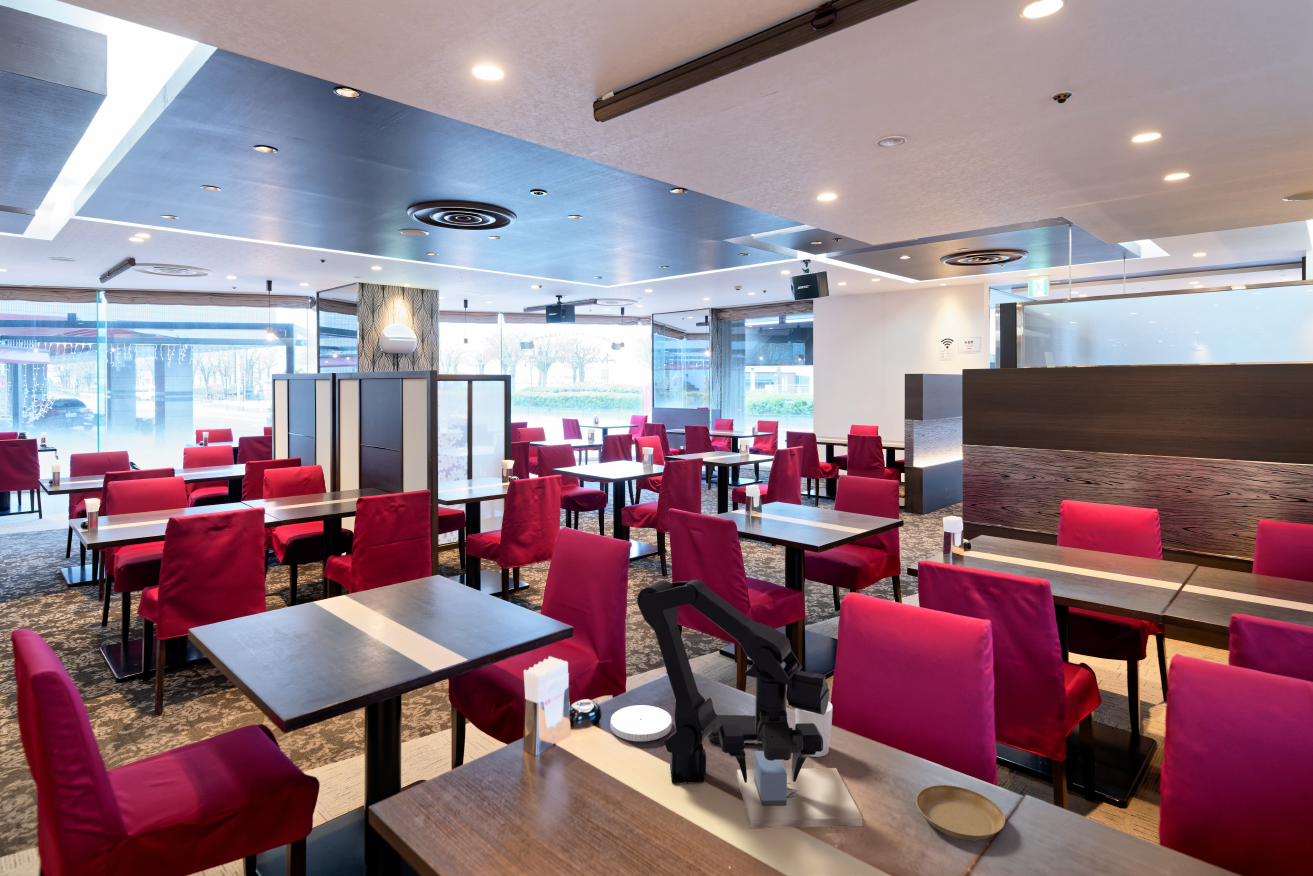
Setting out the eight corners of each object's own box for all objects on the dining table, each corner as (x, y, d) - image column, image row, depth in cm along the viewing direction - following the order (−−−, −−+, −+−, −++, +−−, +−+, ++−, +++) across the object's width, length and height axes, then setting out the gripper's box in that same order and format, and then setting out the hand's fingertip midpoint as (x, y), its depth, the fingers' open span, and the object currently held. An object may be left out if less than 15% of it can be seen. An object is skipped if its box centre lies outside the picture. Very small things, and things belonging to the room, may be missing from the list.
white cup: (828, 740, 150) (829, 697, 150) (834, 760, 142) (835, 714, 142) (792, 738, 151) (793, 695, 150) (796, 758, 143) (797, 712, 143)
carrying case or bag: (707, 748, 148) (775, 750, 147) (707, 735, 147) (775, 736, 147) (705, 724, 158) (769, 726, 158) (705, 711, 158) (769, 713, 157)
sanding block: (762, 805, 124) (762, 774, 124) (754, 780, 132) (754, 751, 132) (786, 805, 124) (786, 774, 124) (777, 780, 132) (777, 750, 132)
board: (750, 828, 120) (750, 820, 120) (737, 776, 136) (737, 769, 136) (862, 826, 121) (862, 818, 121) (835, 775, 137) (835, 767, 137)
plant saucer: (1001, 860, 112) (1001, 845, 112) (908, 831, 120) (908, 816, 120) (1008, 813, 125) (1008, 799, 125) (923, 789, 133) (923, 776, 132)
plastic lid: (604, 743, 150) (604, 732, 149) (617, 713, 163) (617, 703, 163) (667, 748, 148) (667, 736, 147) (674, 717, 161) (674, 707, 161)
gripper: (727, 722, 119) (726, 808, 120) (832, 721, 119) (830, 806, 120) (719, 694, 130) (718, 772, 131) (815, 693, 130) (814, 771, 132)
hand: (769, 781), depth 128 cm, fingers open, 9 cm apart
